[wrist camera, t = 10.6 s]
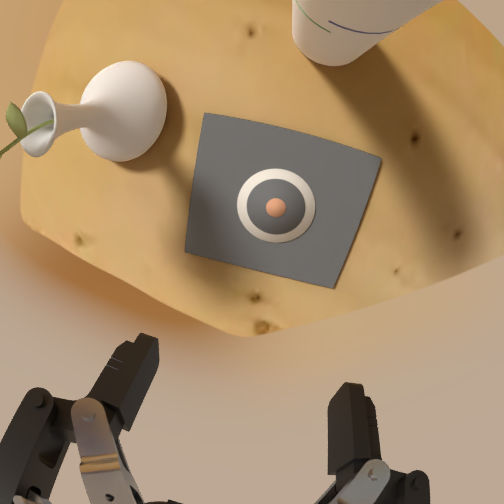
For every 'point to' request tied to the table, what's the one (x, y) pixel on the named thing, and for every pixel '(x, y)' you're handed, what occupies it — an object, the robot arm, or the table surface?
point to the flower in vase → (97, 114)
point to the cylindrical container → (348, 26)
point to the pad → (276, 199)
